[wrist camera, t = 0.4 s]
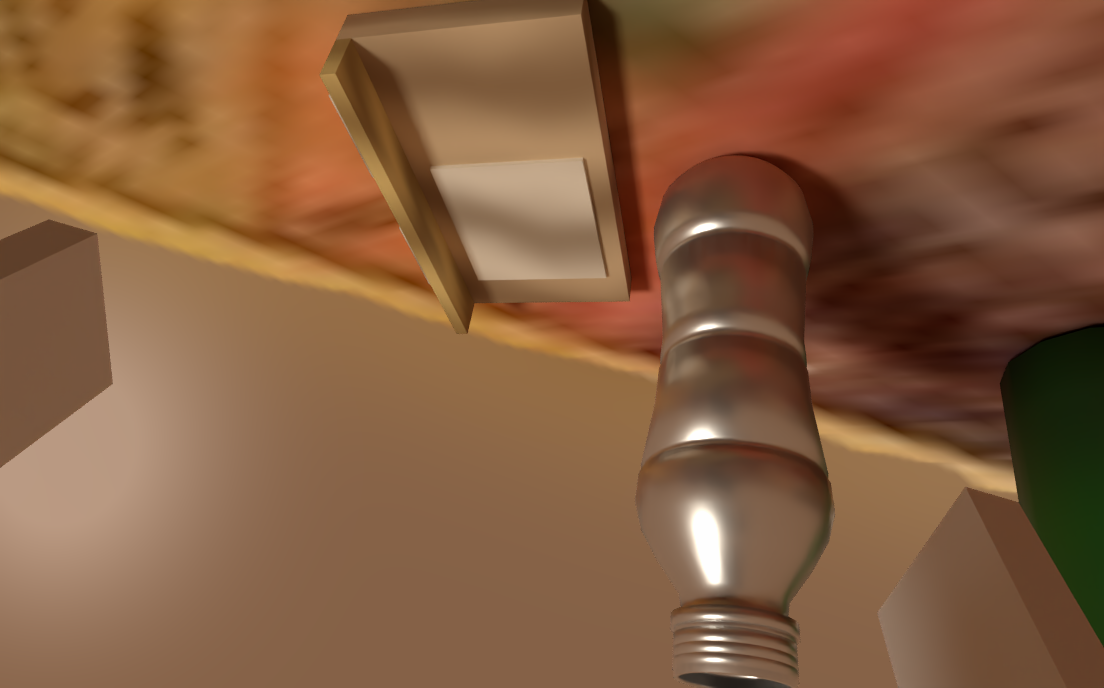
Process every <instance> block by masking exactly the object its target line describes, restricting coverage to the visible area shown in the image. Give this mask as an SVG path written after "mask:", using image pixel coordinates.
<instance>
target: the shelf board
mask: <svg viewBox="0 0 1104 688" xmlns="http://www.w3.org/2000/svg"><path fill="white" fill-rule="evenodd" d="M320 77H321V79H322V81H323V83H324V84H325V86H326V88H327V90H328V92H329V97H330V99H331V101H332V103H333V105H334V106H335V108H336V110H337V112H338V114H339V116H340V118H341V120H342V121H343V123H344V125H345V127H346V129H347V131H348V133H349V135H350V136H351V138H352V140H353V142H354V144H355V146H356V148H357V150H358V152H359V153H360V155H361V157H362V159H363V161H364V163H365V165H366V167H367V168H368V170H369V172H370V174H371V176H372V177H374V179H375V181H376V182H377V184H378V186H379V188H380V190H381V192H382V194H383V196H384V198H385V199H386V201H387V203H388V205H389V207H390V209H391V211H392V213H393V215H394V216H395V218H396V220H397V222H398V224H399V226H400V227H399V229H400V230H401V232H402V234H403V236H404V238H405V240H406V242H407V244H408V245H409V247H410V249H411V251H412V253H413V255H414V257H415V259H416V260H417V262H418V264H419V266H420V268H421V270H422V272H423V274H424V275H425V277H426V279H427V281H428V283H429V284H431V286H432V288H433V290H434V292H435V294H436V296H437V298H438V299H439V301H440V303H441V305H442V307H443V309H444V311H445V313H446V315H447V316H448V318H449V320H450V322H451V324H452V326H453V328H454V330H455V331H456V333H457V334H467V333H468V329H469V325H470V320H471V316H472V312H473V307H474V303H524V302H615V301H630V290H631V272H630V266H629V260H628V253H627V247H626V241H625V234H624V228H623V222H622V215H621V209H620V203H619V197H618V190H617V184H616V178H615V171H614V165H613V159H612V153H611V146H610V140H609V134H608V127H607V121H606V115H605V108H604V102H603V96H602V90H601V83H600V77H599V71H598V64H597V58H596V52H595V46H594V39H593V33H592V27H591V20H590V14H589V8H588V2H587V0H479V1H470V2H461V3H452V4H443V5H434V6H425V7H416V8H407V9H398V10H389V11H380V12H371V13H362V14H353V15H347V18H346V20H345V22H344V24H343V26H342V28H341V30H340V32H339V35H338V37H337V39H336V41H335V43H334V45H333V47H332V49H331V52H330V54H329V56H328V58H327V60H326V62H325V64H324V66H323V68H322V71H321V73H320Z"/></svg>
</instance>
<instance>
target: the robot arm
mask: <svg viewBox="0 0 1104 688" xmlns="http://www.w3.org/2000/svg"><path fill="white" fill-rule="evenodd" d="M98 247H99V246H98V237H97V233H93V232H90V231H87V230H83V229H80V228H76V227H73V226H69V225H66V224H63V223H59V222H55V221H52V220H47V221H44V222H42V223H39V224H37V225H35V226H32V227H30V228H28V229H25V230H23V231H20V232H18V233H16V234H13V235H11V236H8V237H6V238H4V239H1V240H0V468H1V467H2V466H3V465H5V464H6V463H7V462H9V461H10V460H11V459H13V458H14V457H15V456H17V455H18V454H19V453H21V452H22V451H23V450H25V449H26V448H27V447H29V446H30V445H31V444H33V443H34V442H35V441H37V440H38V439H39V438H41V437H42V436H43V435H45V434H46V433H47V432H49V431H50V430H51V429H53V428H54V427H55V426H57V425H58V424H59V423H61V422H62V421H63V420H65V419H66V418H68V417H69V416H70V415H71V414H73V413H74V412H75V411H77V410H78V409H80V408H81V407H82V406H83V405H85V404H86V403H88V402H89V401H90V400H92V399H93V398H94V397H96V396H97V395H98V394H100V393H101V392H102V391H104V390H105V389H106V388H108V387H109V386H110V385H111V384H113V383H112V372H111V362H110V353H109V343H108V334H107V324H106V314H105V306H104V296H103V286H102V275H101V266H100V257H99V248H98ZM878 617H879V620H880V624H881V628H882V631H883V635H884V638H885V642H886V646H887V649H888V653H889V656H890V660H891V663H892V667H893V671H894V674H895V678H896V682H897V685H898V688H1104V647H1103V645H1102V644H1101V642H1100V640H1099V639H1098V637H1097V635H1096V634H1095V632H1094V630H1093V628H1092V627H1091V625H1090V623H1089V622H1088V620H1087V618H1086V617H1085V615H1084V613H1083V611H1082V610H1081V608H1080V606H1079V605H1078V603H1077V601H1076V600H1075V598H1074V596H1073V594H1072V593H1071V591H1070V589H1069V588H1068V586H1067V584H1066V582H1065V581H1064V579H1063V577H1062V576H1061V574H1060V572H1059V571H1058V569H1057V567H1056V565H1055V564H1054V562H1053V560H1052V559H1051V557H1050V555H1049V554H1048V552H1047V550H1046V548H1045V547H1044V545H1043V543H1042V542H1041V540H1040V538H1039V536H1038V535H1037V533H1036V531H1035V530H1034V528H1033V526H1032V525H1031V523H1030V521H1029V519H1028V518H1027V516H1026V514H1025V513H1024V511H1023V509H1022V508H1021V506H1020V504H1019V502H1016V501H1012V500H1008V499H1005V498H1002V497H998V496H995V495H992V494H988V493H984V492H981V491H978V490H974V489H971V488H968V487H965V488H964V489H963V491H962V492H961V494H960V495H959V497H958V498H957V499H956V501H955V502H954V504H953V505H952V507H951V508H950V509H949V511H948V512H947V514H946V515H945V517H944V518H943V519H942V521H941V522H940V524H939V525H938V527H937V528H936V530H935V531H934V533H933V534H932V535H931V537H930V538H929V540H928V541H927V542H926V544H925V545H924V547H923V548H922V550H921V551H920V552H919V554H918V556H917V557H916V558H915V560H914V561H913V563H912V564H911V565H910V567H909V568H908V570H907V571H906V573H905V574H904V575H903V577H902V578H901V580H900V581H899V583H898V584H897V585H896V587H895V588H894V590H893V591H892V593H891V594H890V596H889V597H888V598H887V600H886V601H885V603H884V604H883V606H882V607H881V608H880V610H879V611H878Z"/></svg>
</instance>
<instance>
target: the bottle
mask: <svg viewBox="0 0 1104 688" xmlns="http://www.w3.org/2000/svg"><path fill="white" fill-rule="evenodd" d="M1000 387H1001V394H1002V400H1003V406H1004V412H1005V418H1006V425H1007V431H1008V437H1009V443H1010V450H1011V456H1012V462H1013V468H1014V474H1015V481H1016V487H1017V493H1018V499H1019V504H1020V506H1021V508H1022V509H1023V511H1024V513H1025V514H1026V516H1027V518H1028V519H1029V521H1030V523H1031V525H1032V526H1033V528H1034V530H1035V531H1036V533H1037V535H1038V536H1039V538H1040V540H1041V542H1042V543H1043V545H1044V547H1045V548H1046V550H1047V552H1048V554H1049V555H1050V557H1051V559H1052V560H1053V562H1054V564H1055V565H1056V567H1057V569H1058V571H1059V572H1060V574H1061V576H1062V577H1063V579H1064V581H1065V582H1066V584H1067V586H1068V588H1069V589H1070V591H1071V593H1072V594H1073V596H1074V598H1075V600H1076V601H1077V603H1078V605H1079V606H1080V608H1081V610H1082V611H1083V613H1084V615H1085V617H1086V618H1087V620H1088V622H1089V623H1090V625H1091V627H1092V628H1093V630H1094V632H1095V634H1096V635H1097V637H1098V639H1099V640H1100V642H1101V644H1102V645H1103V647H1104V327H1095V328H1087V329H1084V330H1080V331H1076V332H1073V333H1069V334H1066V335H1062V336H1059V337H1055V338H1052V339H1048V340H1045V341H1043V342H1040V343H1039V344H1037V345H1036V346H1034V347H1032V348H1031V349H1029V350H1028V351H1026V352H1024V353H1023V354H1021V355H1020V356H1018V357H1017V358H1015V359H1013V360H1012V361H1010V362H1009V363H1008V365H1007V367H1006V370H1005V372H1004V374H1003V377H1002V379H1001V382H1000Z"/></svg>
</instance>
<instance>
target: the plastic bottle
mask: <svg viewBox="0 0 1104 688" xmlns="http://www.w3.org/2000/svg"><path fill="white" fill-rule="evenodd" d="M654 244H655V255H656V263H657V268H658V273H659V277H660V280H661V303H662V331H663V341H662V349H661V360H660V364H661V365H660V368H659V374H658V382H657V392H656V399H655V405H654V410H653V414H652V418H651V423H650V427H649V432H648V436H647V441H646V446H645V450H644V454H643V458H642V463H641V470H640V473H639V476H638V483H637V490H636V497H635V502H636V508H637V513H638V518H639V522H640V526H641V531H642V533H643V535H644V536H645V538H646V540H647V542H648V544H649V546H650V548H651V550H652V552H653V554H654V556H655V558H656V559H657V561H658V562H659V564H660V566H661V567H662V569H663V570H664V572H665V573H666V575H667V576H668V578H669V580H670V581H671V582H672V584H673V586H674V587H675V589H676V590H677V592H678V593H679V599H680V606H681V607H679V608H677V609H675V610H673V611H672V612H671V619H670V622H671V623H670V630H671V631H672V632H673V667H672V670H673V671H674V677H673V678H674V679H675V680H677V681H679V682H681V683H683V684H686V685H689V686H693V687H697V688H798V685H799V672H798V671H799V670H798V657H797V656H798V654H797V645H798V644H799V642H800V629H799V624H798V623H797V622H796V621H795V620H794V619H792V618H790V617H788V614H789V605H790V602H791V601H792V599H793V598H794V597H795V595H796V594H797V593H798V591H799V590H800V588H801V587H802V586H803V584H804V583H805V581H806V580H807V579H808V577H809V576H810V574H811V573H812V571H813V570H814V568H815V566H816V564H817V563H818V561H819V559H820V557H821V555H822V554H823V552H824V550H825V548H826V546H827V545H828V542H829V539H830V534H831V530H832V525H833V521H834V517H835V508H834V502H833V496H832V488H831V483H830V481H829V480H828V471H827V467H826V462H825V458H824V454H823V450H822V445H821V441H820V437H819V432H818V428H817V424H816V420H815V415H814V411H813V407H812V399H811V391H810V383H809V375H808V370H807V368H806V367H807V361H806V352H805V344H804V331H805V301H806V280H807V276H808V272H809V268H810V263H811V257H812V246H813V222H812V219H811V216H810V213H809V209H808V206H807V203H806V200H805V197H804V194H803V192H802V190H801V188H800V187H799V186H798V184H797V183H796V181H794V180H793V179H792V178H791V177H790V176H789V175H788V174H786V173H785V172H784V171H782V170H781V169H779V168H778V167H776V166H774V165H773V164H771V163H769V162H767V161H764V160H761V159H758V158H755V157H749V156H741V155H729V156H720V157H716V158H712V159H708V160H705V161H703V162H701V163H699V164H696V165H695V166H693V167H692V168H690V169H689V170H687V171H686V172H685V173H683V174H682V175H681V176H679V177H678V178H677V179H676V180H675V181H674V182H673V183H672V184H671V185H670V186H669V188H668V189H667V191H666V193H665V194H664V196H663V199H662V203H661V206H660V209H659V212H658V216H657V219H656V223H655V226H654Z"/></svg>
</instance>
